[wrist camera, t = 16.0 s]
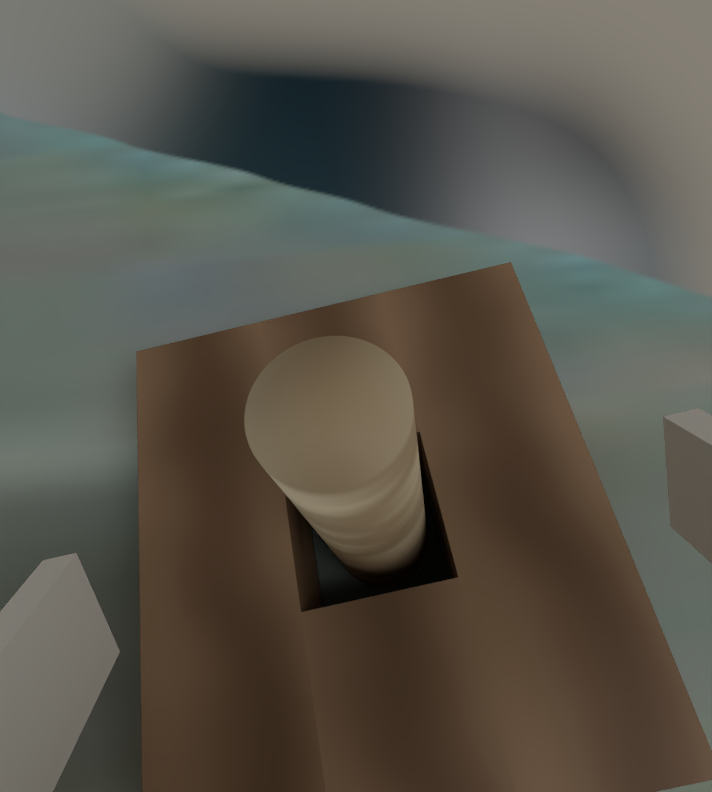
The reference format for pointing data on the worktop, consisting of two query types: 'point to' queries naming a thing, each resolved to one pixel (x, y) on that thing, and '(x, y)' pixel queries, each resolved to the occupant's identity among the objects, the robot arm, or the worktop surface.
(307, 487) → the birch pin
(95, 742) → the worktop surface
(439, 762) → the walnut hole block
